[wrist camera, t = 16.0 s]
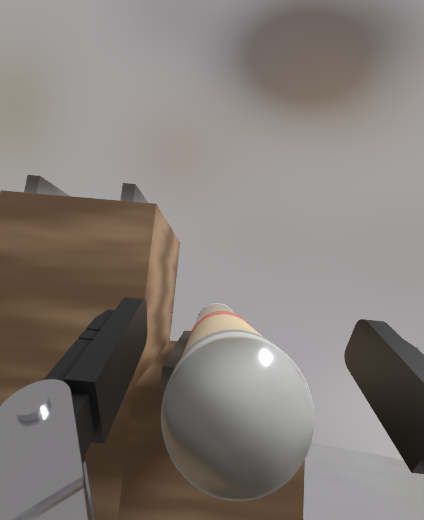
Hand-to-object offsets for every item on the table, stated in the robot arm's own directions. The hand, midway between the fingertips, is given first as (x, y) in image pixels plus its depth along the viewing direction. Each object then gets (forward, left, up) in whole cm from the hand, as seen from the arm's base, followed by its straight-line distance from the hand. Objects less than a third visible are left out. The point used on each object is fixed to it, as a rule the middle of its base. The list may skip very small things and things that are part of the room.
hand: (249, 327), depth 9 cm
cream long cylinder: (+5, +6, -4) cm, 9 cm away
